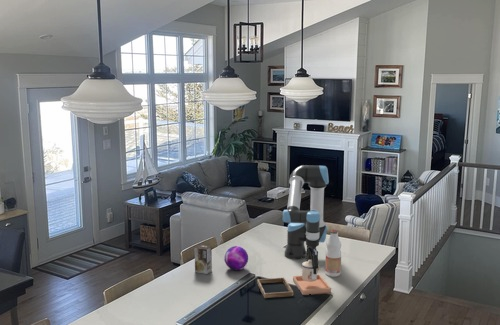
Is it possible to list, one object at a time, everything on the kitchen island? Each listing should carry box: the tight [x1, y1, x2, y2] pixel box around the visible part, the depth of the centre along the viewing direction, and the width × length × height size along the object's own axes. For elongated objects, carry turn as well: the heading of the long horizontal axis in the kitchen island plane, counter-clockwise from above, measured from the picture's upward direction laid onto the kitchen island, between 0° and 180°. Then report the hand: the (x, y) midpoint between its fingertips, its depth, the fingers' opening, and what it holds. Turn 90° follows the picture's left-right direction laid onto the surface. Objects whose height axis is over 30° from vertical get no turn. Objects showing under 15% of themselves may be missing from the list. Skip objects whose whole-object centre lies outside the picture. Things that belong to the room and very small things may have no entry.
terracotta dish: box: [292, 274, 332, 296], centre depth 293 cm, size 21×17×3 cm
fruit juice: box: [324, 229, 342, 277], centre depth 310 cm, size 9×9×28 cm
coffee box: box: [193, 244, 213, 275], centre depth 314 cm, size 9×6×16 cm
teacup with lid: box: [301, 260, 321, 282], centre depth 292 cm, size 12×9×12 cm
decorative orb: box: [224, 245, 249, 271], centre depth 318 cm, size 15×15×15 cm
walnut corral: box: [256, 277, 294, 299], centre depth 289 cm, size 21×17×2 cm
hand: (311, 275), depth 292 cm, fingers closed on teacup with lid, 9 cm apart
